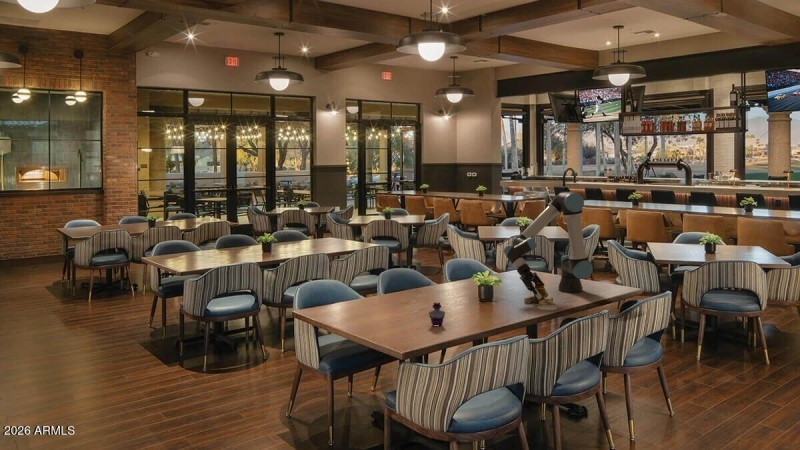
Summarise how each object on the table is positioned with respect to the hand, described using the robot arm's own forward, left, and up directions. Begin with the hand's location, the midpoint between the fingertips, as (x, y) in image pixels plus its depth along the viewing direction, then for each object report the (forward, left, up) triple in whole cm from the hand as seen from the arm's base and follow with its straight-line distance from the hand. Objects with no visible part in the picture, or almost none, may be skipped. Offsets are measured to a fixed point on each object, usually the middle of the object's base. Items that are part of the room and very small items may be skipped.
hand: (543, 297), depth 373 cm
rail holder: (0, -4, -4) cm, 5 cm away
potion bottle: (+78, -10, -4) cm, 79 cm away
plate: (+8, +8, -4) cm, 12 cm away
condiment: (+1, -4, -4) cm, 5 cm away
